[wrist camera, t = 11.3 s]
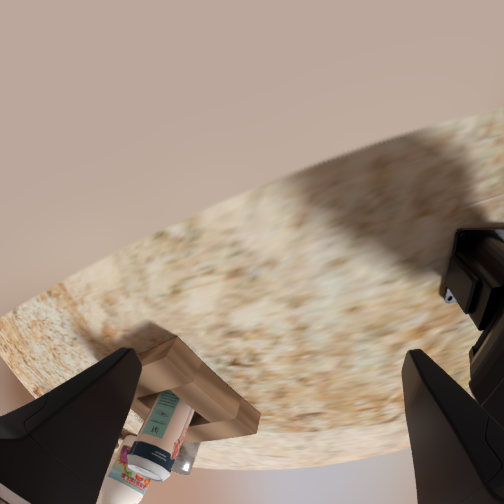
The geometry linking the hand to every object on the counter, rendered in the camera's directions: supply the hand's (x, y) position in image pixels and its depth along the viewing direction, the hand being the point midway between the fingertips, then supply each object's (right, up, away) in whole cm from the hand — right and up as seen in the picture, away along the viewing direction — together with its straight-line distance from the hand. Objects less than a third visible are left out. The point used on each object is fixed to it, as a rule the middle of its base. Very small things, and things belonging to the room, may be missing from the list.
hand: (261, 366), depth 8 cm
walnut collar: (-9, -14, +23) cm, 28 cm away
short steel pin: (-10, -26, +29) cm, 40 cm away
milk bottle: (-21, -33, +35) cm, 53 cm away
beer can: (-9, -13, +23) cm, 28 cm away
